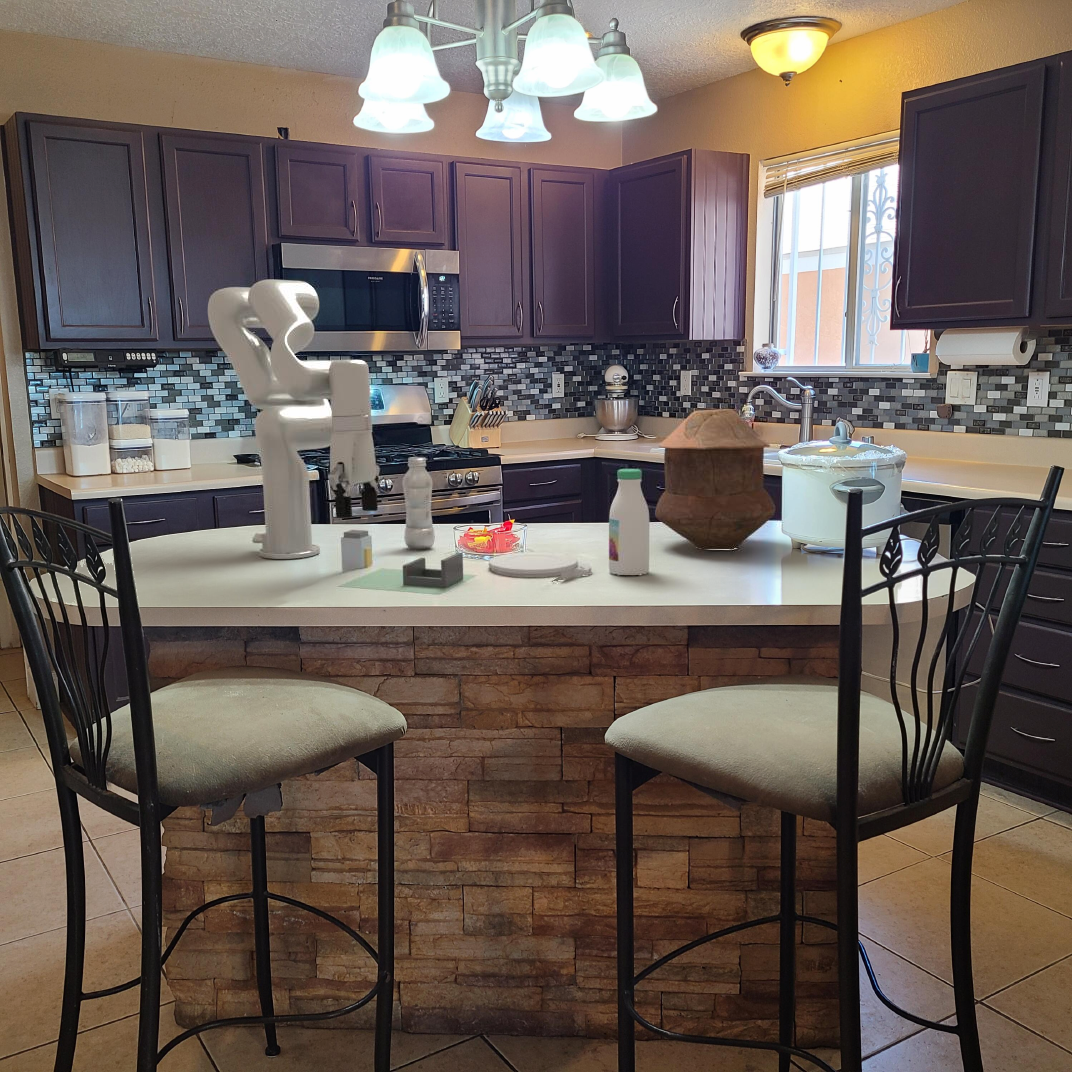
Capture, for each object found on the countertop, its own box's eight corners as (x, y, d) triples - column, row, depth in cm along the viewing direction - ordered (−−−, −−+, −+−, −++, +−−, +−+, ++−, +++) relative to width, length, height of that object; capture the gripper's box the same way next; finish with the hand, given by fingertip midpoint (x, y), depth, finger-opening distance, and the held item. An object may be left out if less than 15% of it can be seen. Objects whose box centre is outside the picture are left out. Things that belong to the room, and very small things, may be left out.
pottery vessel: (778, 561, 200) (783, 412, 195) (651, 558, 205) (652, 412, 200) (770, 538, 226) (775, 405, 220) (657, 536, 230) (659, 406, 225)
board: (338, 592, 177) (338, 586, 177) (382, 574, 192) (381, 568, 192) (439, 601, 170) (439, 594, 170) (476, 581, 185) (476, 575, 185)
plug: (342, 572, 194) (340, 532, 192) (352, 568, 198) (351, 529, 196) (364, 574, 192) (363, 534, 191) (375, 570, 196) (373, 530, 194)
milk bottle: (652, 569, 194) (654, 468, 190) (643, 578, 186) (645, 472, 183) (614, 567, 196) (614, 466, 193) (604, 575, 189) (604, 471, 185)
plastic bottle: (430, 552, 214) (427, 459, 210) (400, 551, 215) (397, 459, 212) (439, 546, 220) (436, 456, 217) (409, 545, 221) (407, 456, 218)
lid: (601, 582, 185) (601, 566, 184) (495, 587, 181) (494, 571, 181) (581, 564, 201) (581, 549, 201) (483, 568, 198) (483, 554, 197)
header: (403, 585, 177) (402, 557, 176) (422, 576, 184) (421, 550, 183) (445, 588, 174) (445, 560, 173) (463, 579, 181) (462, 552, 180)
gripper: (358, 423, 199) (363, 507, 202) (310, 428, 183) (316, 519, 186) (391, 422, 196) (395, 508, 199) (345, 427, 180) (351, 520, 183)
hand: (357, 513), depth 192 cm, fingers open, 9 cm apart
